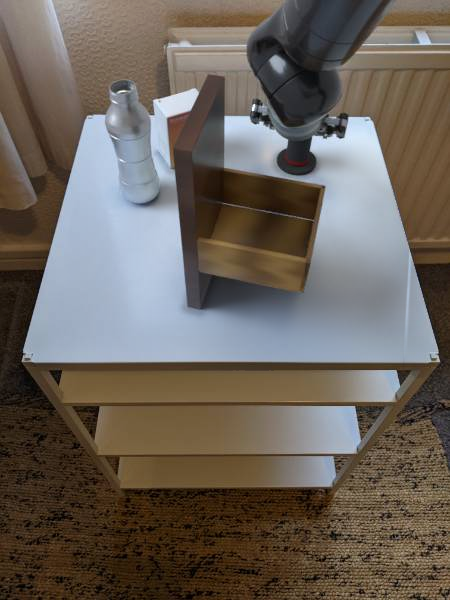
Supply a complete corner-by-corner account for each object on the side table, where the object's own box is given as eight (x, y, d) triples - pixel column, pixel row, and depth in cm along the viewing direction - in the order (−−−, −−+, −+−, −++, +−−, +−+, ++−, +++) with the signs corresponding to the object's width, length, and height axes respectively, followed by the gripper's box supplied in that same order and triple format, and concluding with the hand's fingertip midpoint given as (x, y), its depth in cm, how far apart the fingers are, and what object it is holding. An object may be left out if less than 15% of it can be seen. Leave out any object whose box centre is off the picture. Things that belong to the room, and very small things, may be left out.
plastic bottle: (164, 205, 83) (150, 97, 67) (123, 211, 83) (99, 103, 66) (158, 179, 87) (144, 70, 70) (119, 184, 86) (95, 76, 70)
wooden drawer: (308, 259, 77) (347, 95, 54) (294, 330, 70) (331, 175, 47) (211, 239, 79) (207, 73, 56) (187, 306, 72) (172, 147, 49)
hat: (318, 152, 91) (326, 114, 85) (312, 178, 88) (320, 140, 81) (280, 146, 92) (285, 108, 86) (273, 171, 88) (277, 133, 82)
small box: (170, 169, 88) (165, 118, 80) (158, 151, 91) (151, 99, 82) (211, 156, 91) (210, 104, 82) (197, 138, 93) (195, 86, 85)
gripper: (359, 84, 63) (349, 110, 79) (249, 67, 65) (260, 96, 81) (345, 145, 65) (338, 159, 80) (238, 127, 66) (251, 143, 82)
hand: (299, 127), depth 81 cm, fingers open, 8 cm apart
